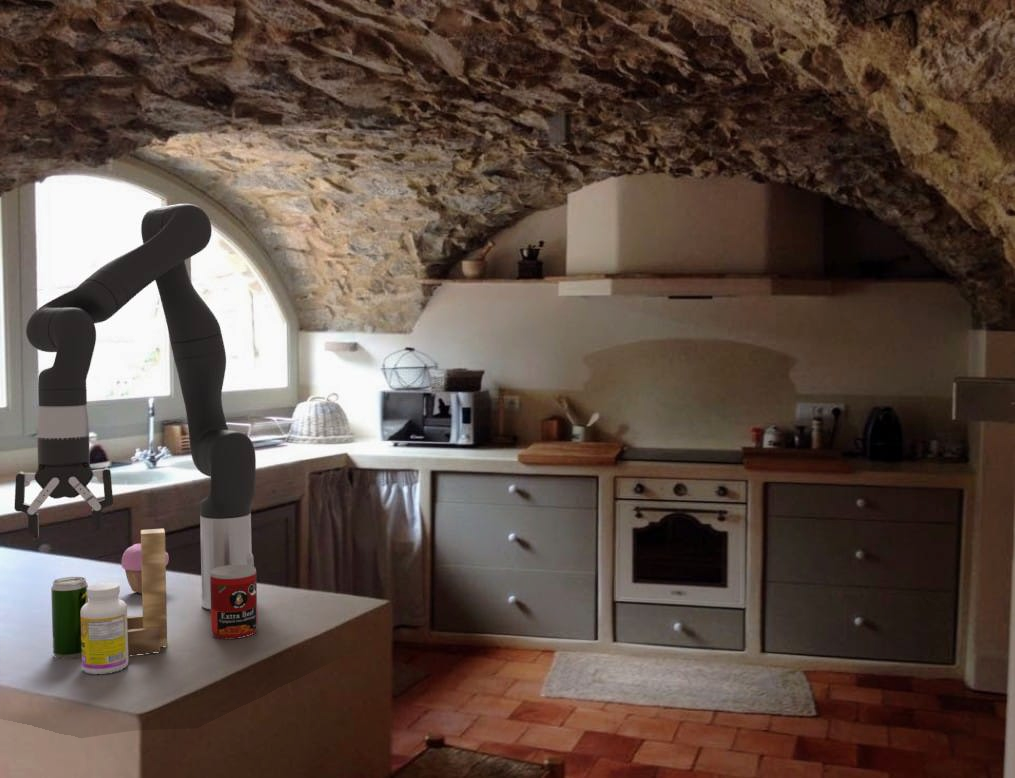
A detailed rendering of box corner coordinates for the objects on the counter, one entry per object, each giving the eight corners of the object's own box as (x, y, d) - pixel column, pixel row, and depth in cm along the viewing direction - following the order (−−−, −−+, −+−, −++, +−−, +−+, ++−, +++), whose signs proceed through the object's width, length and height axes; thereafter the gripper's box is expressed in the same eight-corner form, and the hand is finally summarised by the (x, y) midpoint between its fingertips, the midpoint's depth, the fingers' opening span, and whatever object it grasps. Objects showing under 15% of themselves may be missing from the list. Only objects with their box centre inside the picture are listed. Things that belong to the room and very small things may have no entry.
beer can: (55, 661, 156) (53, 586, 156) (51, 652, 161) (49, 579, 160) (92, 655, 159) (90, 581, 158) (86, 646, 164) (84, 574, 163)
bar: (166, 640, 167) (163, 528, 166) (167, 646, 163) (164, 532, 162) (143, 643, 165) (140, 530, 164) (144, 649, 162) (141, 534, 161)
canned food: (216, 642, 166) (215, 577, 165) (207, 629, 173) (205, 567, 172) (262, 635, 169) (261, 571, 169) (251, 623, 176) (250, 562, 176)
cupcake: (177, 590, 200) (176, 541, 199) (139, 600, 192) (138, 548, 192) (151, 584, 205) (149, 536, 204) (112, 593, 198) (111, 543, 197)
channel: (156, 636, 169) (156, 613, 169) (159, 652, 160) (159, 628, 160) (92, 643, 165) (92, 620, 165) (92, 660, 156) (91, 635, 156)
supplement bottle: (90, 662, 156) (88, 581, 155) (133, 660, 157) (131, 580, 156) (75, 676, 149) (73, 592, 149) (121, 675, 150) (118, 591, 149)
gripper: (111, 430, 164) (113, 528, 165) (15, 433, 158) (17, 534, 159) (112, 434, 157) (113, 536, 158) (11, 437, 152) (13, 543, 152)
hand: (65, 535), depth 158 cm, fingers open, 8 cm apart
